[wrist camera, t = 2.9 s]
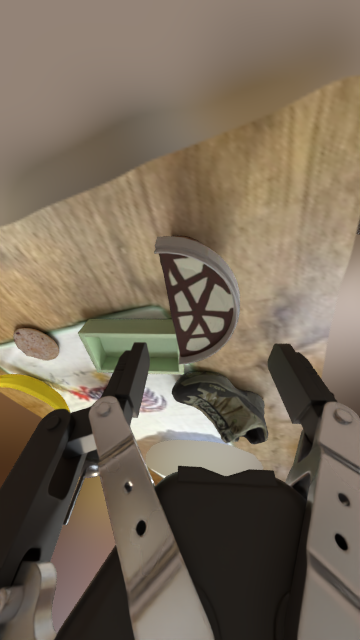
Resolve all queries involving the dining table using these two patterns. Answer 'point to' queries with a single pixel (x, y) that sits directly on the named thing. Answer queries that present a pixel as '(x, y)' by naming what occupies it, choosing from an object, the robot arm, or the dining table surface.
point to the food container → (198, 296)
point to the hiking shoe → (224, 405)
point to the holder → (119, 335)
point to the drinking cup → (87, 472)
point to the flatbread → (36, 344)
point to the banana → (34, 389)
